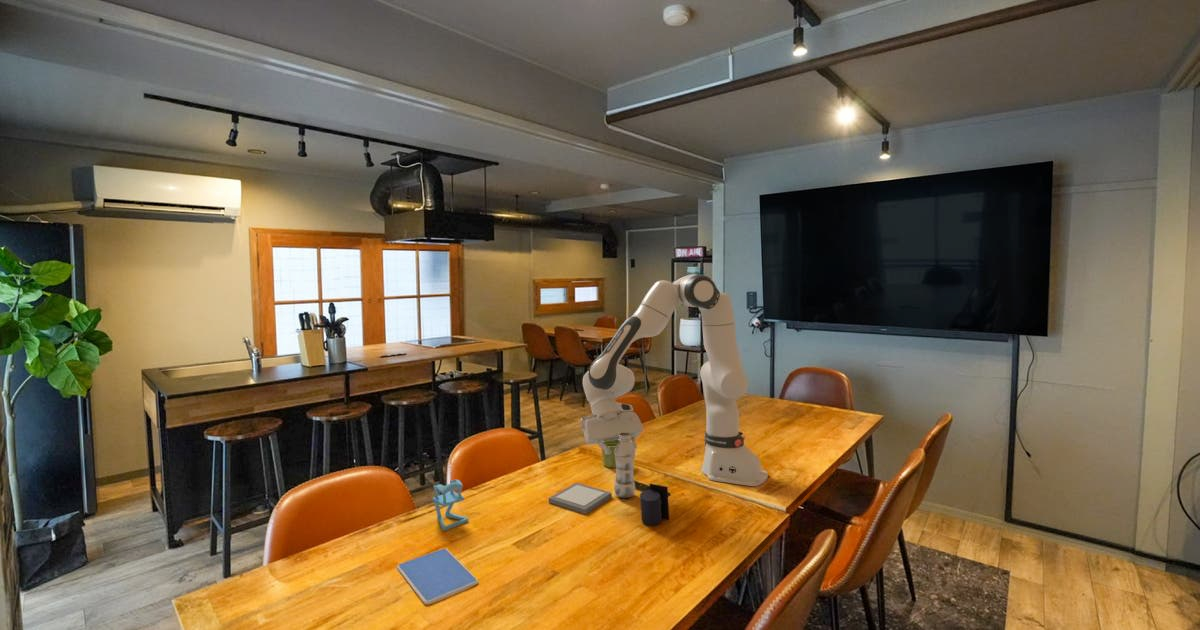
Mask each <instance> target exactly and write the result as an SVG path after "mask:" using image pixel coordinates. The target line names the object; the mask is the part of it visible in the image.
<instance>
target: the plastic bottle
mask: <svg viewBox="0 0 1200 630" xmlns="http://www.w3.org/2000/svg"><path fill="white" fill-rule="evenodd" d="M618 440H619V443H618V444H617V446H616V447H615V450H614V451H615V460H616V467H615V469H616V470H615V481H614V486H613V488H614V489H613V490H614V494H615V495H616V496H617V497H618V498H621V499H628V498H629V499H630V498H632V497H633V496H634V494H635V492H636V484H635V483H636V482H635V478H634V477H635V476H634V475H635V474H634V467H635V463H634V462H635V457H636V449H635V448H634V446H633V445H632V440H631V435H630V433H620V434H619V438H618Z"/></svg>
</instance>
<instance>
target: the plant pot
mask: <svg viewBox="0 0 1200 630" xmlns="http://www.w3.org/2000/svg"><path fill="white" fill-rule="evenodd" d="M618 443H619V440H613V441H607V442H604V444H605V445H606V446H607V447H610V450H611V453H610V454H607V455H606V454H605V452H604V450H603V449H602V448H601V455H602V460H603V461H602V462H603V466H605V467H606V468H610V469H611V468H612V469H614V468H615V469H616V460H615V451H614V450H615V447H616V446H617V444H618Z"/></svg>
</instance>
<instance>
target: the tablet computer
mask: <svg viewBox="0 0 1200 630" xmlns="http://www.w3.org/2000/svg"><path fill="white" fill-rule="evenodd" d="M396 569H397V571H398V572H399V573H400V575H402V577H403V578H404V579H405V580H406V582H407V583H408V585H409V586H410V587H411V589H413V591H414V592H415V593H416V595H417V596H418V597H419V598H420V600H421V601H422V603H423V604H424V605H432V604H434V603H436V602H437V603H438V602H439V601H442V600H445V599H446V598H449V597H451V596H455V595H456V594H458V593H461V592H463V591H466V590H467V589H468V590H469V589H470V588H472V587H474V586H476V585H478V583H479V579H477V577H475V576H474V574H473V573H472V572H470V570H468V569H467V568H466V566H464V565H463V563H462V562H460V561H459V560H458V558H456V557H455V555H453V554H452V553H451V552H450V551H449V550H448V549H447V548H441V549H439V550H436V551H433V552H430V553H427V554H424V555H421V556H418V557H415V558H413V559H410V560H407V561H404V562H401V563H399V564H397V565H396Z"/></svg>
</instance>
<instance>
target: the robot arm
mask: <svg viewBox="0 0 1200 630" xmlns="http://www.w3.org/2000/svg"><path fill="white" fill-rule="evenodd" d="M679 306H686V307H690V308H695V307H696V308H698V310H699V312H700V315H701V325H702V336H703V338H702V339H703V347H704V350H705V351H706V355H707V359H708V360H707V361H706V362H704V363H703V364H702V366H701V368H700V370H699V375H700V379H701V382H702V389H703V397H704V402H705V411H706V415H705V416H706V419H705V422H706V424H705V425H706V427H705V429H706V430H705V431H704V445H705V449H704V458H703V461H702V462H703V463H702V466H701V473H702V474H704V475H705V476H707V478H708V479H709V480H710V481H714V482H719V483H721V482H722V483H726V484H735V485H740V486H748V487H758V486H761V485H763V484H764V483H765V482H767V480H768V477H769V475H768V472H767V471H766V470H764V469H762V466H761V465H762V464H761V461H760V458H759V457H758V456H757V455H756V454H755V453H754V452H752V451H751V449H749V448H748V447H747V446H746V445H745V439H746V435H744V436H743V435H741V434H740V433H739V432H740V431H739V426H740V425H739V421H740V420H739V419H740V416H739V415H740V414H739V413H740V412H739V408H738V406H737V402H736V399H739V398H741V397H743V396H744V395H745V394H746V392H747V391H748V389H749V379H748V378H747V375H746V374H745V371H744V368H743V363H742V360H741V356H740V353H739V349H738V344H737V332H736V324H735V323H736V322H735V321H736V319H735V313H734V307H733V304H732V301H731V297H730V295H728V294H727V293H726V292H723V291H719V288H718V287H717V285H716V284H715V282H714V280H712V278H710V277H708V276H707V275H705V274H696V273H691V274H687V275H685V274H684V275H682V276H679V277H677V278H675V279H674V280H673V281H669V280H666V279H665V280H664V279H663V280H661V279H660V280H658V281H655V283H654V284H653V285H652V286H651V287H650V289H648V290H647V293H646V294H645V295H644V297H643V299H642V301H641V303H640V304H639V306H638V307H637V309H636V310H635V312H634V313H633V314H632V315H631V316H630V317H628V318H627V319H625V320H624V322H623V323H622V324H621V325H620V327H619V328H618V329H617V331H616V333H615V334H614V335H613V336H612V338H611V340H609V342H608V344H607V346H606V347H605V348H604V350H603V351H602V352H601V353H600V354H599V355H598V356H597V357H596V358H595V359H594V360H593V361H592V362H591V364H590V366H589V369H588V370H587V371H586V372H585V373H584V375H583V376H582V387H583V391H584V394H585V397H586V400H587V402H588V403H589V405H590V411H591V413H592V415H588V416H586V415H585V416H582V418H580V420H579V421H580V422H579V423H580V426H581V428H582V430H583V431H582V432H583V436H584V437H583V438H584V439H585V442H586V443H587V444H588V445H589V446H590V445H596V444H597V446H598V447H599V448H600V449H601V450H602V449H603V450H604V452H605V454H606V455H607V454H610V453H611V450H610V447H607V446H606V445H605V444H604V442H607V441H613V440H618V438H619V434H620V433H630V435H631V443H632V445H633V446H634V448H635V450H636V449H637V448H638V445H637V443H636V440H637V437H640V436H641V434H642V433H643V432H644V426H643V424H642V422H641V419H640V418H639V416H638V415H637V413H636V412H634V408H633V405H631V404H628V403H621V402H619V401H617V400H616V399H617V398H620V397H623V396H625V395H626V394H627V395H628V393H629V392H631V391H632V390H633V389H634V386H635V385H636V384H635V383H636V376H635V373H634V372H633V370H632V369H631V368H629V367H627V366H624V365H623V364H620V361H621V360H622V358H623V356H624V355H625V353H627V350H629V348H630V346H631V345H632V343H634V342H635V341H637V340H639V339H642V338H653V337H655V336H658V335H660V334H661V333H662V332H663V331H664V329H665V328H666V327H667V325H668V324H669V321H670V320H671V317H672V315H673V313H674V311H675V310H676V308H677V309H678V307H679Z"/></svg>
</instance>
